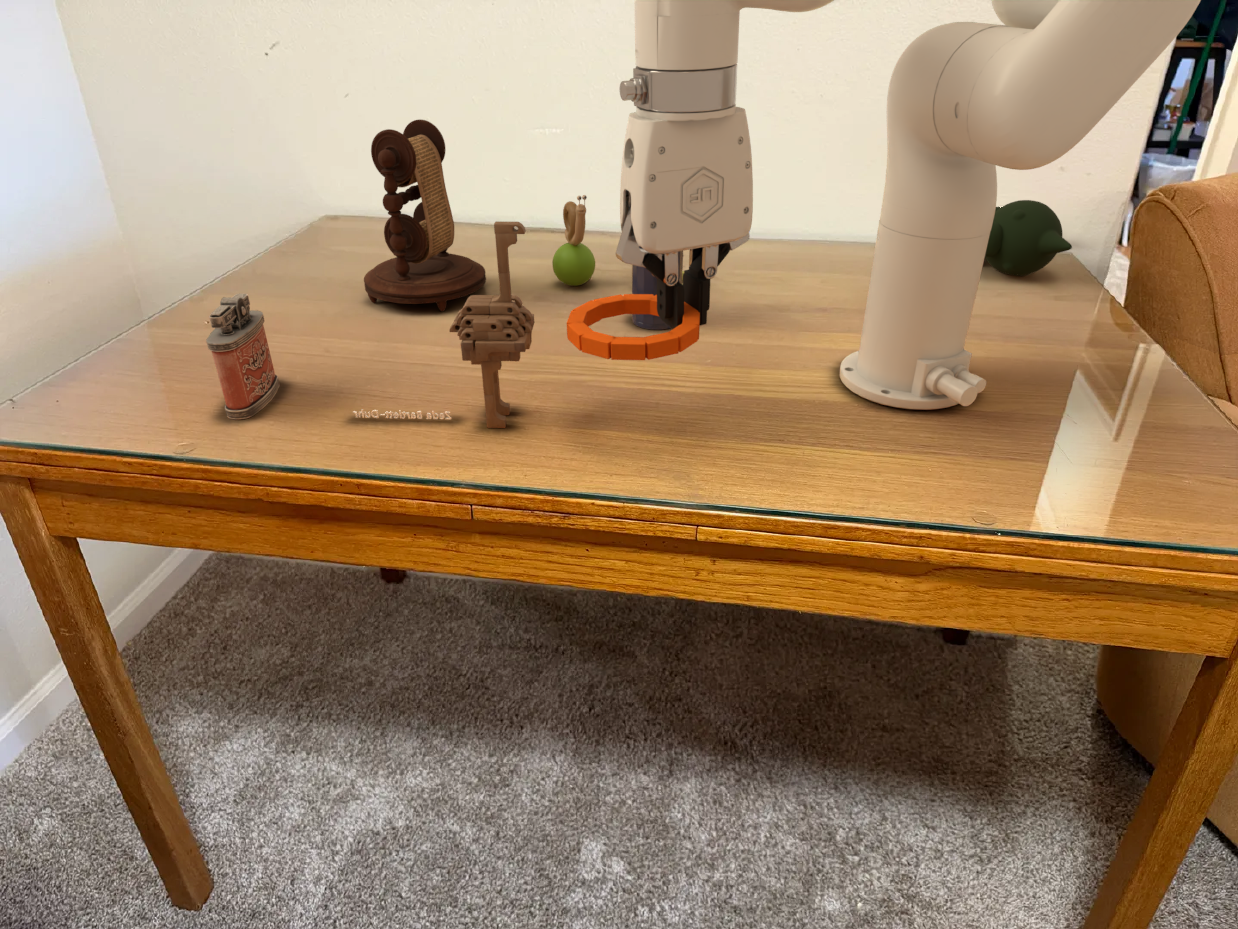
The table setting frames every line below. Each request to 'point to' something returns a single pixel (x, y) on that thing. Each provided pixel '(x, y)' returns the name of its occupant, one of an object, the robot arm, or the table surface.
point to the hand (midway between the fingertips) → (683, 320)
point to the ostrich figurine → (490, 332)
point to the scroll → (418, 223)
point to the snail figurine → (574, 248)
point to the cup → (648, 285)
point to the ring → (629, 346)
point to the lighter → (242, 357)
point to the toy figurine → (1024, 238)
